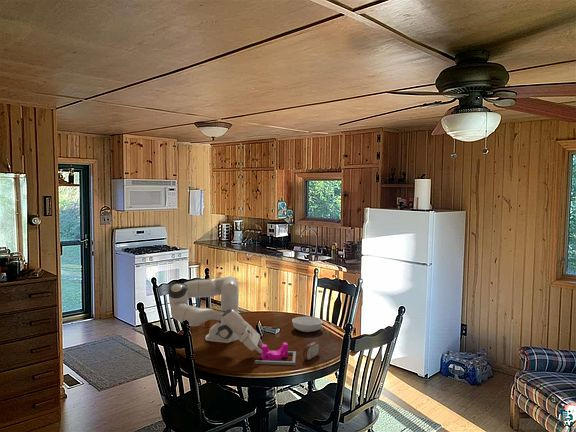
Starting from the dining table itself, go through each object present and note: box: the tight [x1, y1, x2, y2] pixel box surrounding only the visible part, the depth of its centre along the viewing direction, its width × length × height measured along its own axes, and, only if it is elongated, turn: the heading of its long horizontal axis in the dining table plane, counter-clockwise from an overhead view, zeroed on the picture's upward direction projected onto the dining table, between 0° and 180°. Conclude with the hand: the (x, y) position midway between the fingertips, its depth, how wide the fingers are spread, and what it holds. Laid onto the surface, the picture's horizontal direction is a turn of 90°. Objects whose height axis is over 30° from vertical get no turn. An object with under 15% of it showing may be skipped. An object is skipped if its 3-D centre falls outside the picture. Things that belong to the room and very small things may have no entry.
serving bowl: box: [291, 316, 323, 333], centre depth 301 cm, size 21×21×7 cm
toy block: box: [260, 341, 289, 361], centre depth 249 cm, size 15×6×8 cm, turn 107°
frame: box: [254, 350, 297, 366], centre depth 248 cm, size 22×17×2 cm
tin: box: [302, 340, 320, 361], centre depth 251 cm, size 15×3×8 cm, turn 146°
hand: (262, 349), depth 248 cm, fingers open, 8 cm apart
